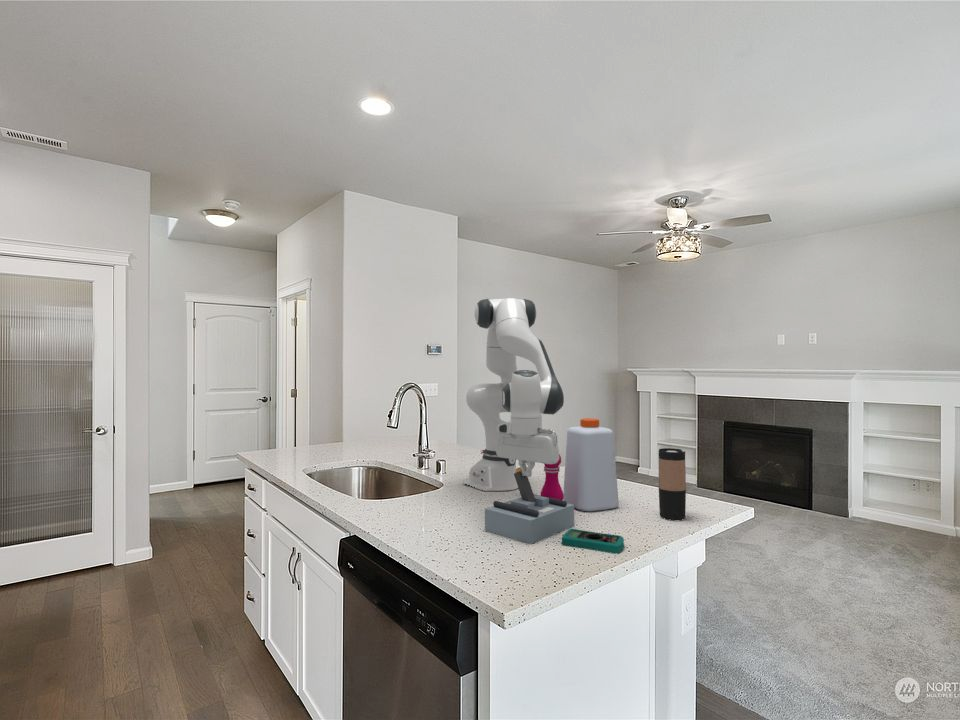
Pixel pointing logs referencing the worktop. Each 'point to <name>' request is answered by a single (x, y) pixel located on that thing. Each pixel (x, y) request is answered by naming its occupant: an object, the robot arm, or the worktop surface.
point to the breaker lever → (524, 486)
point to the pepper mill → (552, 481)
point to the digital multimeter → (593, 540)
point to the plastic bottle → (590, 467)
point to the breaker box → (529, 520)
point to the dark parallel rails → (526, 510)
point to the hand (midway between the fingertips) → (526, 476)
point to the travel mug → (672, 483)
